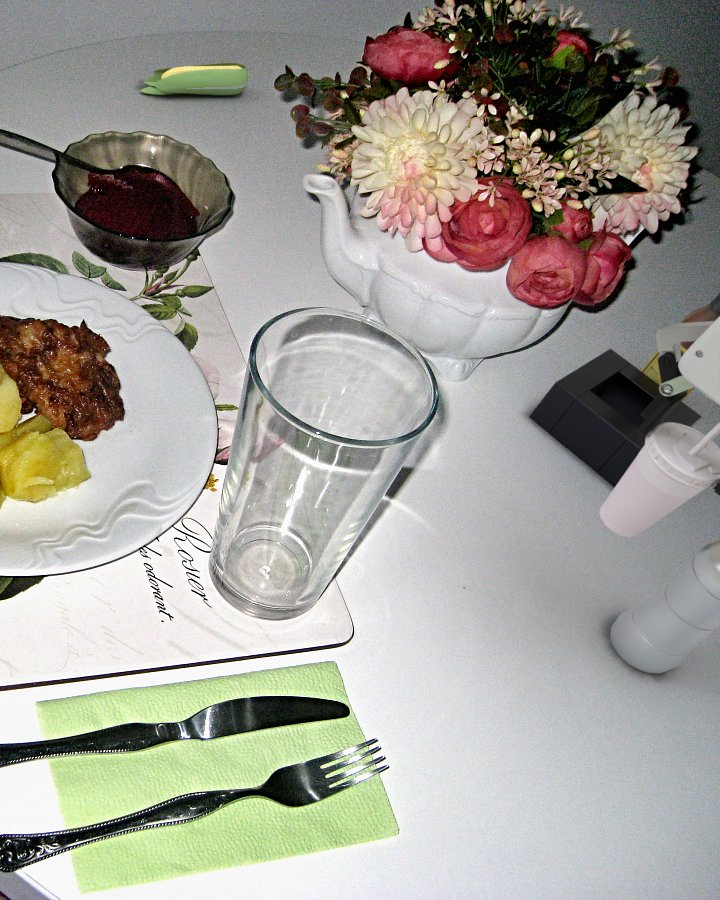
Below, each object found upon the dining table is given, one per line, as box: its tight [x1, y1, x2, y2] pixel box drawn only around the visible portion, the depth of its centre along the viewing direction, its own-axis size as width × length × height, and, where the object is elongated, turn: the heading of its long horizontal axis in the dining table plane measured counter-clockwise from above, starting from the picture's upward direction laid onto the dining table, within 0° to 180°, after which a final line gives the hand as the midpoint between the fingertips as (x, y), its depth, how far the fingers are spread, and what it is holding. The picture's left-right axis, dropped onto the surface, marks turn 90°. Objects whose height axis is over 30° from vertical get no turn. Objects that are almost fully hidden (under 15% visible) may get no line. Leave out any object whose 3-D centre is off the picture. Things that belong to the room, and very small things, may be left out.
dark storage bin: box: [528, 348, 703, 489], centre depth 108 cm, size 13×13×7 cm
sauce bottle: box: [639, 292, 720, 403], centre depth 110 cm, size 6×6×20 cm
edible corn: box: [140, 62, 252, 96], centre depth 148 cm, size 5×20×5 cm, turn 112°
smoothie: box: [598, 421, 720, 538], centre depth 75 cm, size 6×6×14 cm
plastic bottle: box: [610, 539, 720, 675], centre depth 83 cm, size 6×7×20 cm
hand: (685, 455), depth 73 cm, fingers closed on smoothie, 6 cm apart
